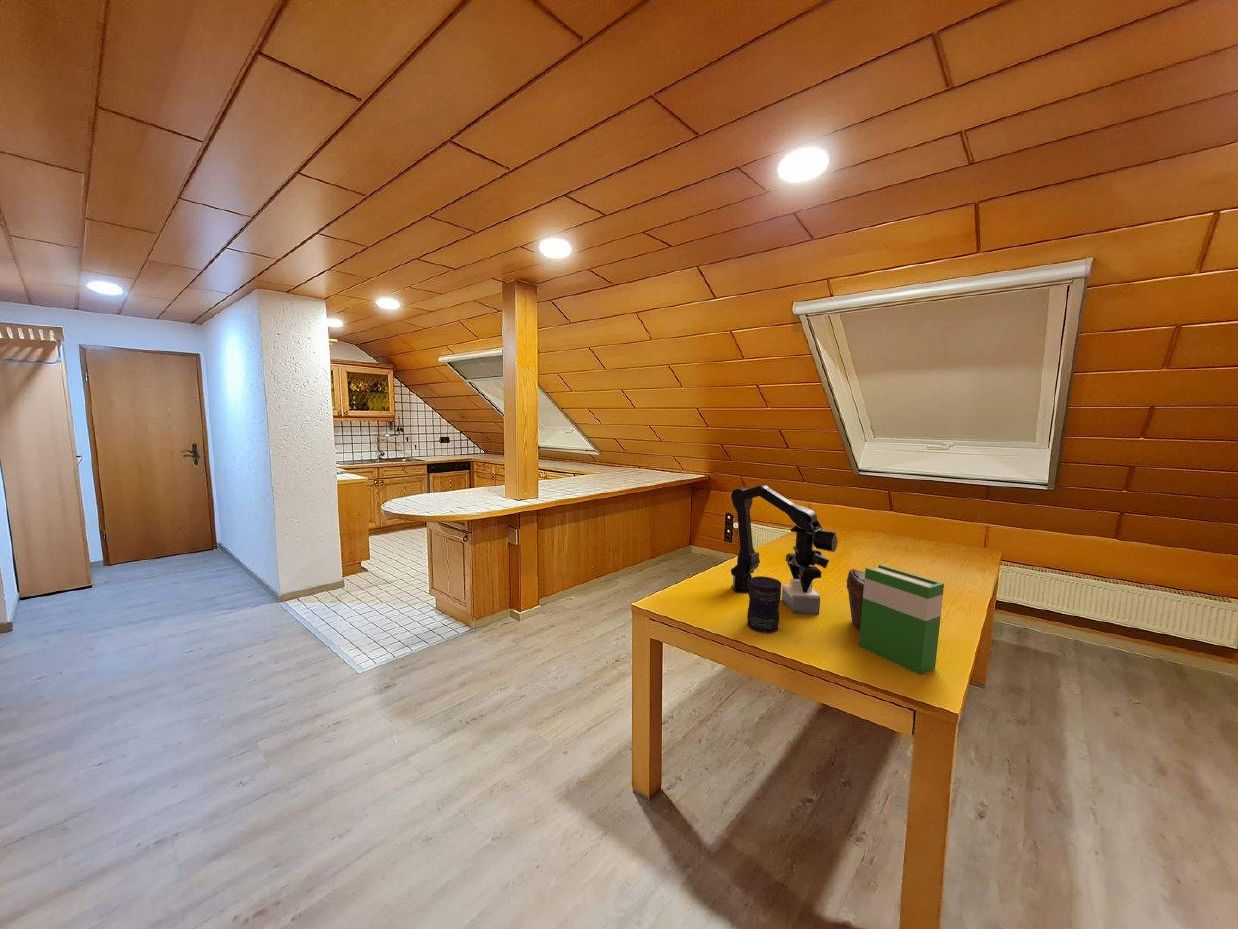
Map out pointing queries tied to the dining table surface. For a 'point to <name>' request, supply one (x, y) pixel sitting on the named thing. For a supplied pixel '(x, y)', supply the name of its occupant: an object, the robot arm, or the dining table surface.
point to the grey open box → (801, 603)
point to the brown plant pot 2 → (856, 595)
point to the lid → (799, 589)
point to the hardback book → (901, 617)
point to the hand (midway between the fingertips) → (800, 588)
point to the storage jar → (764, 604)
